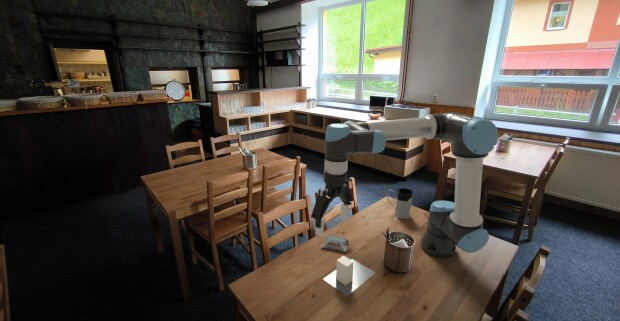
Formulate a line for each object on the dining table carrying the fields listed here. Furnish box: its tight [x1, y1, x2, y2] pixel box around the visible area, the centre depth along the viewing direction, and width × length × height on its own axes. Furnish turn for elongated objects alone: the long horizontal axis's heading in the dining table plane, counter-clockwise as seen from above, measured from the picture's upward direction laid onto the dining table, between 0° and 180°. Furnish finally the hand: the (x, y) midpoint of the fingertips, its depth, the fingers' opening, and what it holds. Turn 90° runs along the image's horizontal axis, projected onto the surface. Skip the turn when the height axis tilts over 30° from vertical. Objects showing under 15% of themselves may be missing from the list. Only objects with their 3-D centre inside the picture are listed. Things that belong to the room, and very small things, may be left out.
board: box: [323, 258, 376, 297], centre depth 114 cm, size 18×12×1 cm, turn 134°
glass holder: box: [386, 187, 413, 220], centre depth 162 cm, size 9×14×15 cm, turn 59°
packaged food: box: [320, 234, 350, 253], centre depth 132 cm, size 9×12×5 cm
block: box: [335, 255, 354, 286], centre depth 110 cm, size 4×5×9 cm
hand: (332, 227), depth 101 cm, fingers open, 13 cm apart
